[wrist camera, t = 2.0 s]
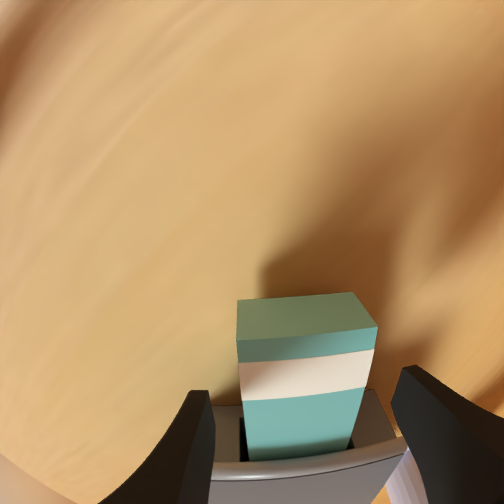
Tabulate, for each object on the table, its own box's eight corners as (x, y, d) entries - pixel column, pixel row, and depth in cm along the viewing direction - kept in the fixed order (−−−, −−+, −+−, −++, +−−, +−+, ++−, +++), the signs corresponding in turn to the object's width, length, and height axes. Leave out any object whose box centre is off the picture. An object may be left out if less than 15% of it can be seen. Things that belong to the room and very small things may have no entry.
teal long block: (353, 291, 12) (379, 326, 10) (320, 469, 17) (326, 499, 14) (236, 299, 12) (235, 340, 10) (253, 475, 17) (255, 507, 14)
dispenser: (376, 380, 16) (409, 446, 11) (350, 459, 19) (365, 510, 14) (196, 397, 16) (184, 473, 11) (217, 471, 19) (214, 526, 14)
